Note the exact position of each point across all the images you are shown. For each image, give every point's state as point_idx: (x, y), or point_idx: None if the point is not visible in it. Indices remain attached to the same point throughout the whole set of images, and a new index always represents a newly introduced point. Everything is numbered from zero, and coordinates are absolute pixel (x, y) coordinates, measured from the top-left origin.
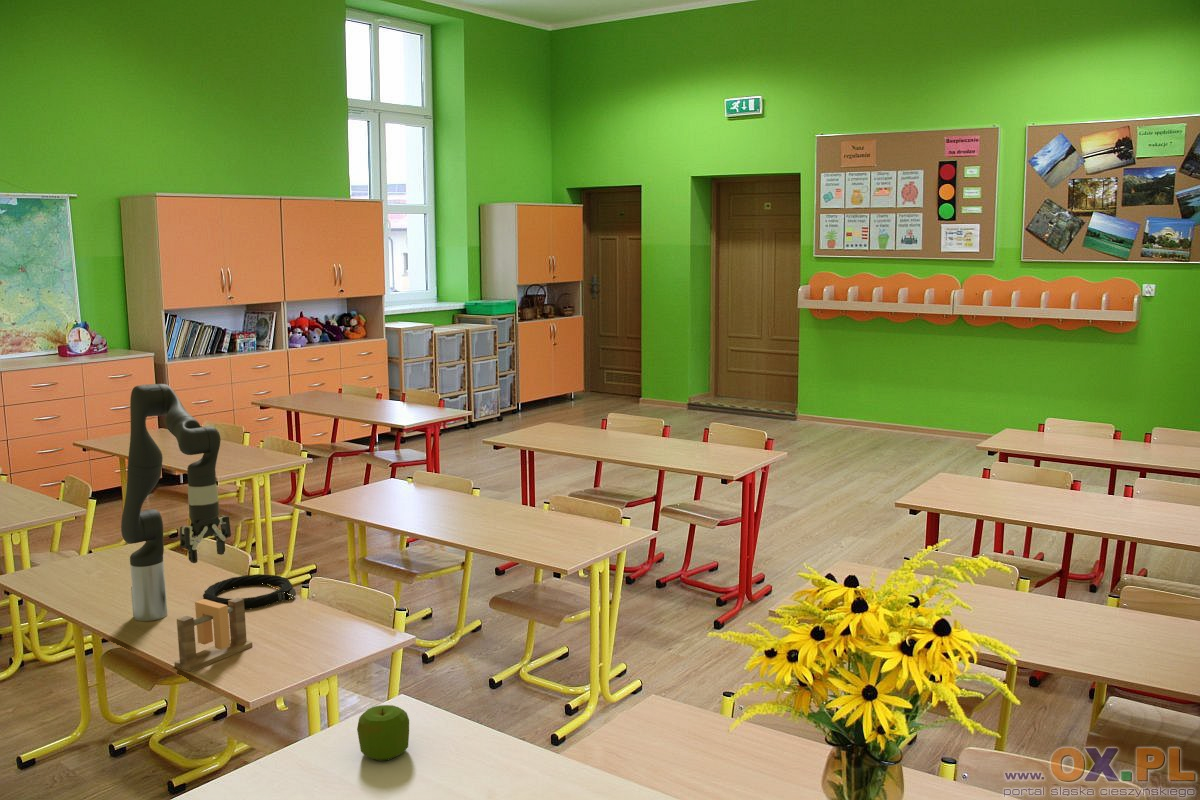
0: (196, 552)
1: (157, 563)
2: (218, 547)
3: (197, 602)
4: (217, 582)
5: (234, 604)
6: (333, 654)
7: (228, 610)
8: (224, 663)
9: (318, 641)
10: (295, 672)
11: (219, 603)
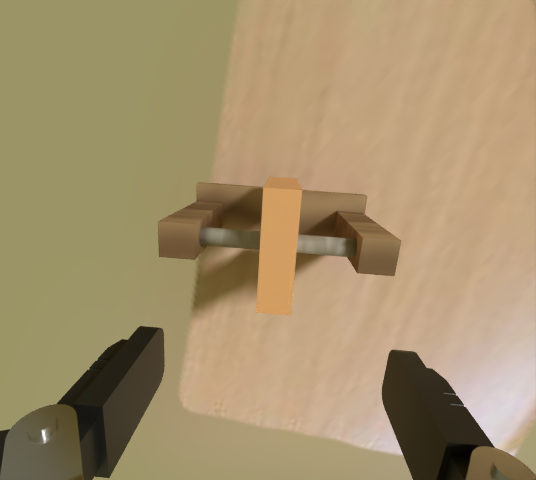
0: (119, 449)
1: None
2: (409, 408)
3: (263, 200)
4: None
5: (356, 266)
6: (383, 411)
7: (333, 255)
8: None
9: (430, 351)
10: (290, 404)
11: (291, 279)
